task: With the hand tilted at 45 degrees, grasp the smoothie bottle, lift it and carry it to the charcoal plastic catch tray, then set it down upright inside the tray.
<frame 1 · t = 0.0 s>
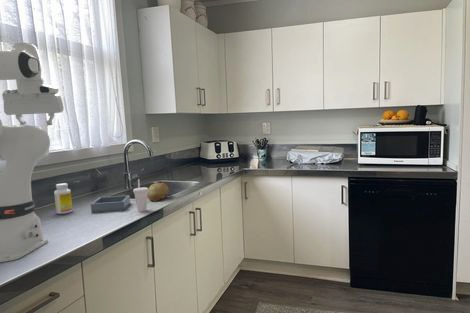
hand: (36, 125, 133), 39 cm above the worktop, tool pointing down, fingers open, 8 cm apart
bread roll: (159, 199, 176), on the worktop
supplement bottle: (64, 212, 155), on the worktop
catch tray: (111, 208, 160), on the worktop
smoothie: (142, 210, 152), on the worktop
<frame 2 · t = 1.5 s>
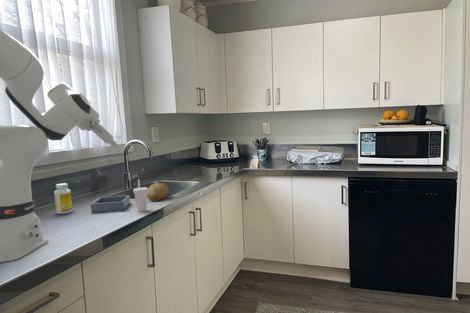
hand: (112, 143, 141), 30 cm above the worktop, tool tilted 45°, fingers open, 8 cm apart
nothing on the worktop moved.
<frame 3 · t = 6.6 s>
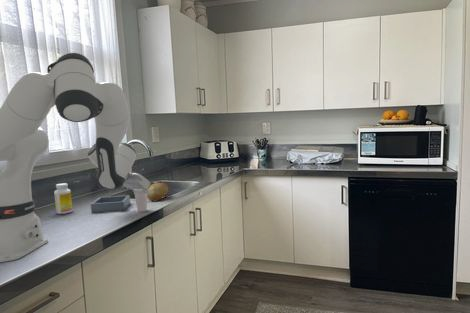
hand: (141, 191, 152), 8 cm above the worktop, tool tilted 45°, fingers closed on smoothie, 6 cm apart
smoothie: (142, 210, 152), on the worktop, touching gripper
everything else where it was.
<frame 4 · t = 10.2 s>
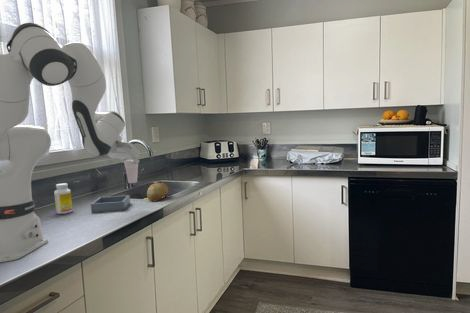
hand: (132, 162, 152), 21 cm above the worktop, tool tilted 45°, fingers closed on smoothie, 6 cm apart
smoothie: (132, 182, 153), point 12 cm above the worktop, touching gripper
everything else where it was.
when the fingers open (12 cm above the worktop, at t = 13.7 s): smoothie drops 1 cm, resting on catch tray.
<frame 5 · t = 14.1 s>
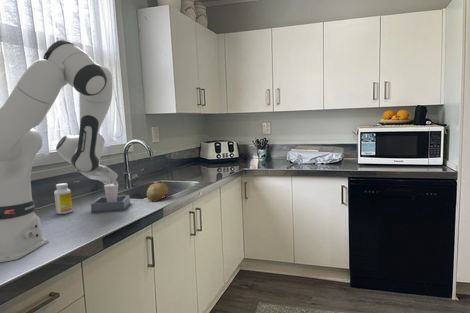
hand: (111, 183, 159), 11 cm above the worktop, tool tilted 45°, fingers open, 6 cm apart
smoothie: (112, 206, 160), point 1 cm above the worktop, touching catch tray, gripper
everything else where it was.
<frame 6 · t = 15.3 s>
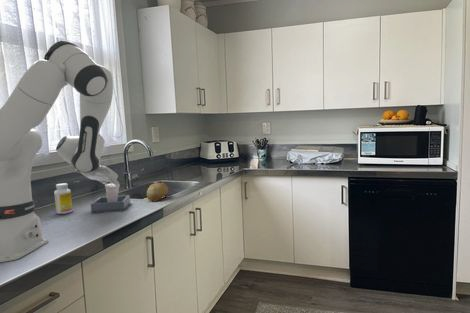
hand: (111, 183, 159), 11 cm above the worktop, tool tilted 45°, fingers open, 8 cm apart
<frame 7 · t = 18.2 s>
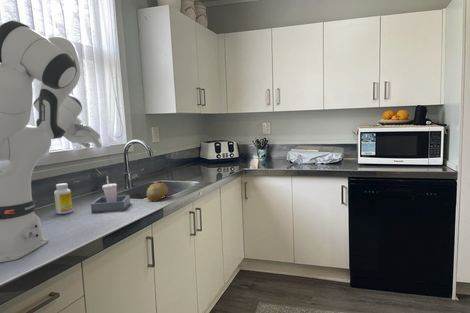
hand: (94, 146, 152), 29 cm above the worktop, tool tilted 45°, fingers open, 8 cm apart
smoothie: (112, 206, 159), point 1 cm above the worktop, touching catch tray
everything else where it was.
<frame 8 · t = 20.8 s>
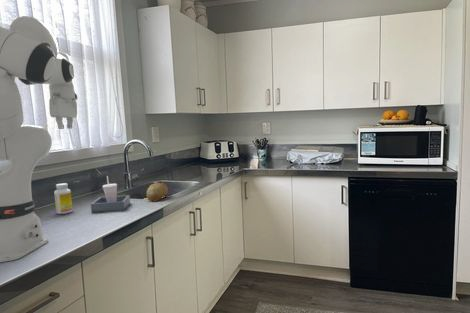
hand: (65, 128, 141), 37 cm above the worktop, tool pointing down, fingers open, 8 cm apart
nothing on the worktop moved.
at the end: smoothie inside the target area on the catch tray (0.4 cm from its centre), point 0.9 cm above the catch tray's base; smoothie tilted 2°; the gripper is holding nothing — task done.
